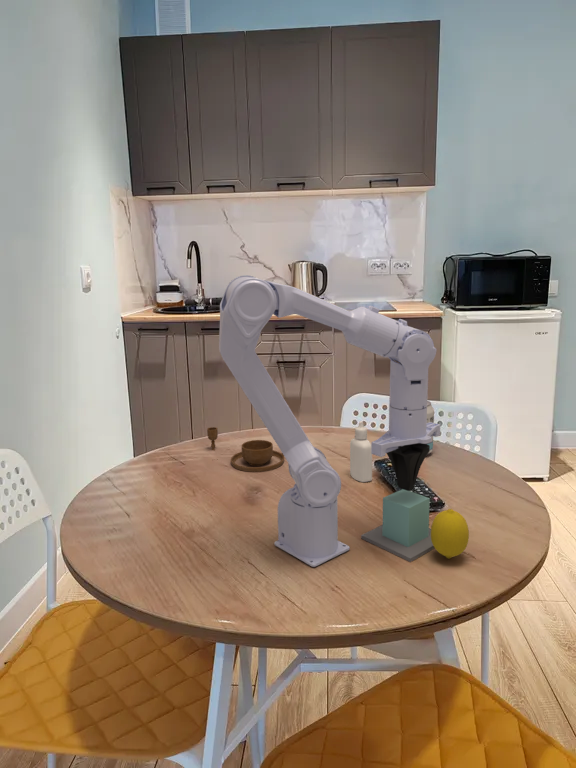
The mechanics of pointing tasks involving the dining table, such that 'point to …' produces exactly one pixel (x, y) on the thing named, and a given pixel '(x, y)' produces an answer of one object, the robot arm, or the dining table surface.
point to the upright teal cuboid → (405, 517)
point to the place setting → (251, 453)
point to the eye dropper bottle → (361, 455)
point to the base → (397, 548)
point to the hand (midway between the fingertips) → (405, 488)
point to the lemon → (449, 533)
